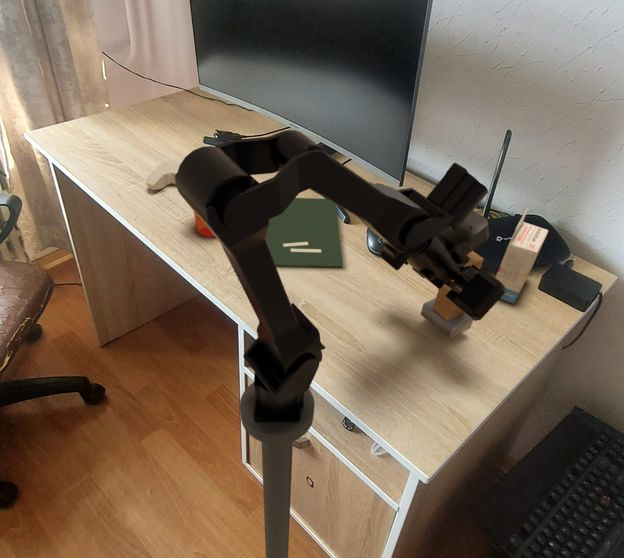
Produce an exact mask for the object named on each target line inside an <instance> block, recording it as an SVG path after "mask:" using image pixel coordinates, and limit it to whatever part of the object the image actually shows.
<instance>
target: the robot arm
mask: <svg viewBox="0 0 624 558" xmlns="http://www.w3.org/2000/svg"><path fill="white" fill-rule="evenodd" d="M180 163H181V164H180V166H179V169H178V172H177V173H176V175H175V183H176V184H175V186H176V189H177V192H178V193H179V195H180V196H181V198H182V199H183V200H184V201H185V202H186V204H187V205H188V206H189V207H190V208H191V210H192V211H193V213H194V212H195V213H196V214H197V216H198V217H199V218H200V219H201V220H202V221H203V223H204V224H205V225H206V226H207V227H208V229H209V230H210V231H211V232H212V233H213V235H214V236H215V237H214V238H215V239H217V241H218V242H219V243H220V245H221V247H222V250H223V251H224V253H225V255H226V257H227V259H228V262H229V264H230V265H231V267H232V269H233V271H234V273H235V275H236V277H237V279H238V282H239V283H240V285H241V287H242V289H243V292H244V293H245V296H246V297H247V299H248V301H249V303H250V305H251V308H252V310H253V312H254V314H255V316H256V317H257V319H258V325H257V327H256V335H257V337H256V339H255V340H254V341H253V343H252V344H251V345H250V346H249V348H248V349H247V350H246V352H244V354H243V360H245V362H246V363H247V364H248V366H250V368H251V369H252V370H253V372H254V377H253V382H254V397H255V404H254V421H255V422H299V421H300V409H303V408H304V393H305V391H307V390H308V389H309V390H310V388H311V385H312V384H313V383H312V382H313V381H314V378H315V376H316V374H317V372H318V370H319V367H320V363H321V362H322V361H323V352H322V351H323V350H325V349H327V348H326V346H325V345H324V344H323V342H322V341H321V334H320V330H319V328H317V326H315V324H314V323H313V322H312V321H311V320H310V319H309V317H307V316H306V315H305V313H303V311H302V310H301V309H300V308H299V307H298V306H297V305H296V304H295V303H294V302H292V303H291V302H290V299H289V296H288V293H287V290H286V288H285V285H284V284H283V280H282V278H281V276H280V273H279V271H278V268H277V267H276V266H275V263H274V261H273V258H272V256H271V253H270V250H269V248H268V245H267V243H266V238H265V236H266V233H267V230H268V227H269V222H270V221H269V219H271V218H273V217H276V216H278V215H280V214H282V213H283V212H284V211H285V210H286V208H287V207H288V206H289V205H290V204H291V202H292V201H293V200H294V199H295V198H297V197H298V195H299V194H301V193H303V192H305V191H308V190H310V191H312V192H314V193H315V194H317V195H319V196H321V197H323V199H328V200H330V201H331V202H333V203H335V204H336V206H338V207H340V208H342V209H344V210H345V211H347V212H349V213H350V214H352V215H354V216H356V217H357V218H358V220H359V221H361V222H362V224H364V226H365V227H366V228H368V229H369V230H370V232H373V233H374V234H375V235H376V236H377V237H378V238H380V239H381V240H382V241H384V242H385V243H384V245H383V248H382V249H381V251H380V253H379V257H380V258H381V259H382V260H383V261H384V262H385V263H387V264H388V266H390V267H391V268H392V269H394V270H395V271H399V270H400V269H401V268H403V266H404V265H406V266H408V265H409V266H410V267H411V268H412V270H413V272H415V273H416V274H418V275H419V277H421V278H423V279H426V280H427V281H428V282H429V283H431V284H432V285H433V286H434V287H435V288H437V290H440V289H441V287H442V286H443V285H444V284H445V285H446V286H448V287H449V288H450V289H451V290H450V291H449V292H448V293H447V294H446V295H445V296H446V297H447V298H448V299H449V300H451V301H452V302H453V303H454V304H455V305H456V306H457V307H458V308H460V309H461V310H462V311H463V312H464V313H466V314H467V315H468V316H469V317H471V318H472V319H473V322H474V321H475V322H478V321H481V320H482V319H483V318H484V317H485V316H486V315H487V314H488V313H489V312H490V310H491V309H492V308H493V307H494V306H495V305H496V304H497V303H498V302H499V300H501V299H500V298H501V297H502V296H503V295H504V294H505V293H506V291H505V286H504V285H503V284H502V283H501V282H500V281H499V280H497V279H496V276H493V275H492V274H491V273H489V272H488V271H486V270H485V269H483V270H481V268H480V269H478V268H477V267H476V266H474V265H472V266H466V267H463V266H461V265H466V263H467V262H468V261H469V260H470V258H469V257H468V253H470V252H472V251H475V250H476V249H477V248H478V247H479V246H480V245H482V244H483V243H486V241H488V239H489V237H490V235H489V220H488V219H487V218H486V217H484V215H481V214H480V213H478V212H477V211H475V209H476V208H477V206H479V204H480V203H481V202H482V201H483V200H484V198H485V197H486V196H487V195H488V194H489V190H488V188H487V187H486V185H485V184H483V183H481V182H480V181H479V180H478V179H477V178H476V177H475V176H473V175H472V174H471V173H469V171H468V170H467V168H465V167H464V166H462V165H460V164H459V163H457V162H453V163H452V164H451V166H449V168H448V169H447V170H446V172H445V174H444V176H442V178H441V179H440V180H439V182H438V183H437V184H436V185H435V186H434V188H432V190H431V191H430V192H429V193H428V195H427V196H425V195H423V193H421V192H419V191H418V190H416V189H415V188H413V187H408V188H407V187H406V188H400V189H396V188H394V187H392V186H389V185H386V184H383V183H380V182H377V183H373V182H371V181H367V179H365V178H363V177H361V176H360V175H359V174H357V173H356V172H355V171H353V170H352V169H350V168H348V167H347V166H346V165H345V164H343V163H341V162H340V161H339V160H338V159H335V158H334V157H333V156H332V155H330V154H328V153H327V152H326V150H325V149H324V148H323V147H322V146H321V145H319V144H317V143H316V142H315V141H314V140H312V139H311V138H310V137H308V136H307V135H306V134H304V133H303V132H301V131H299V130H296V129H295V130H292V129H288V130H283V131H280V132H277V133H275V134H272V135H270V136H261V137H251V138H238V139H231V140H228V141H226V142H225V141H224V142H222V143H220V144H218V145H215V146H212V145H208V146H207V145H206V146H201V147H198V148H196V149H193V150H192V151H190V153H188V154H187V155H186V156H185V157H184V158H183V160H182V161H181V162H180ZM275 173H276V174H275ZM268 174H269V175H270V174H275V175H274V176H273V177H270V178H268V179H266V180H264V181H261V182H258V180H257V179H256V178H254V177H253V176H256V175H268ZM459 272H460V274H458V273H459ZM462 273H463V274H464V275H463V274H462ZM452 280H454V281H452ZM451 281H452V282H451ZM256 418H259V419H256ZM295 418H298V419H295Z"/></svg>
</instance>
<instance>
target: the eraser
mask: <svg viewBox="0 0 624 558" xmlns="http://www.w3.org/2000/svg"><path fill="white" fill-rule="evenodd" d="M468 257H469V258H470V260H469V261H468V262H467V263H466V265H461V266H463V267H466V266H472V265H474V266H476V267H477V268H478V269H480V270H481V268H482V266H483V262H484V260H485V258H483V257H482V256H480V255H479V254H478V253H476V252H475V250H473V251H472V252H470V253H468ZM458 274H460V272H459V273H458ZM462 274H463V273H462ZM463 275H464V274H463ZM452 281H454V280H452ZM452 281H451V282H452ZM450 290H451V289H450V288H449V287H448V286H446V285H445V284H444V285H443V286H442V287H441V289H440V290H439V289H437V294H436V296H435V297H434V298H432V299H430V300H427V301H426V302H424V303H423V304H422V307H421V311H420V315H421V317H423V318H424V319H425V320H426V321H427V322H429V323H430V324H431V325H432V326H433V327H434V328H436V330H438V331H439V332H440V333H441V334H442V335H443V336H445V338H447V339H448V340H450V339H453V338H454V337H456V336H458V335H460V334H462V333H464V332H466V331H468V330H469V329H471V327H472V325H473V322H474V320H473V319H472V318H471V317H469V316H468V315H467V314H466V313H464V312H463V311H462V310H461V309H460V308H458V307H457V306H456V305H455V304H454V303H453V302H452V301H451V300H449V299H448V298H447V297H446V296H445V295H446V294H447V293H448V292H449V291H450Z"/></svg>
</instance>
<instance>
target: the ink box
mask: <svg viewBox="0 0 624 558" xmlns="http://www.w3.org/2000/svg"><path fill="white" fill-rule="evenodd" d="M529 209H530V207H527V208H526V209H525V211H524V213H523V214H522V216H521V218H520V220H519V222H518V223H517V225H516V227H515V229H514V232H513V234H512V236H511V238H510V240H509V243H508V245H507V247H506V250H505V253H504V255H503V258H502V260H501V262H500V266H499V268H498V271H497V272H496V275H495V278H496V279H497V280H499V281H500V282H501V283H502V284H503V285H504V286H505V291H506V293H505V294H504V295H503V296H502V297H501V298H500V299H499V300H501V301H504V302H506V303H509V304H512V305H514V304H515V302H516V300H517V298H518V296H519V295H520V293H521V291H522V289H523V287H524V285H525V282H526V281H527V278H528V277H529V274H530V272H531V270H532V268H533V267H534V264H535V262H536V259H537V257H538V255H539V253H540V250H541V249H542V246H543V244H544V241H545V240H546V238H547V236H548V233H549V230H548V229H547V228H543V227H540V226H537V225H534V224H531V223H528V222H525V221H524V220H525V218H526V216H527V213H528V211H529Z"/></svg>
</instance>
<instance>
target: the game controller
mask: <svg viewBox="0 0 624 558" xmlns="http://www.w3.org/2000/svg"><path fill="white" fill-rule="evenodd" d="M181 163H182V162H179V161H177V160H166V161H163V162H162V163H160V164H159V165H158V166H157V167H155V168H154V169H153V170H152V171H151V172H150V173H149V175H148V176H147V178H146V186H147V187H148V188H149V189H150V190H155V191H158V190H161V189H163V188H164V187H166V186H169V185H170V184H173V185H176V183H175V175H176V173H177V172H178V169H179V166H180V164H181Z"/></svg>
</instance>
